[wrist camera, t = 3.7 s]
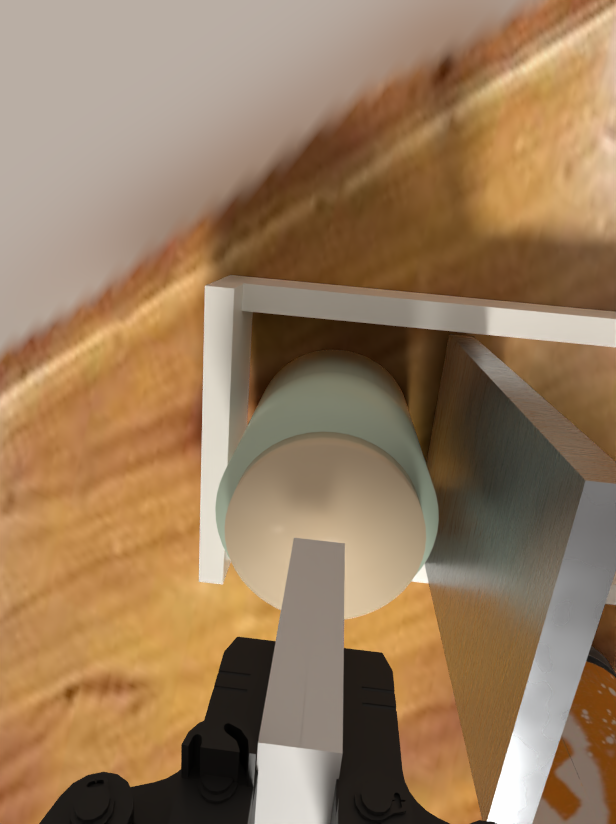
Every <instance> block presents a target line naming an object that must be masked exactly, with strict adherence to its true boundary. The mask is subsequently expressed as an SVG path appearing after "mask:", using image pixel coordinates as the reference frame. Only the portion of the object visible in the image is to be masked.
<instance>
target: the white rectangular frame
mask: <svg viewBox="0 0 616 824" xmlns="http://www.w3.org/2000/svg"><path fill="white" fill-rule="evenodd" d="M253 312H259V313H269V314H280V315H290V316H300V317H310V318H321V319H331V320H341V321H351V322H362V323H372V324H382V325H392V326H402V327H413V328H423V329H433V330H443V331H454V332H464V333H474V334H484V335H495V336H505V337H515V338H525V339H535V340H546V341H556V342H566V343H576V344H587V345H597V346H607V347H616V312H614V311H604V310H593V309H583V308H572V307H562V306H551V305H541V304H530V303H520V302H509V301H499V300H488V299H478V298H467V297H457V296H446V295H436V294H425V293H415V292H404V291H394V290H383V289H373V288H362V287H352V286H341V285H331V284H320V283H310V282H299V281H289V280H278V279H268V278H257V277H247V276H236V275H229V276H227V277H224V278H222V279H220V280H217V281H215V282H213V283H210V284H208V285H206V286H205V309H204V358H203V406H202V455H201V504H200V553H199V582H207V583H215V584H223V582H224V580H225V577H226V574H227V571H228V568H229V565H230V562H231V560H230V558H229V557H228V555H227V553H226V551H225V549H224V547H223V545H222V542H221V539H220V536H219V534H218V529H217V524H216V511H215V506H216V497H217V492H218V488H219V484H220V481H221V479H222V476H223V474H224V472H225V469H226V467H227V465H228V463H229V461H230V460H231V458H232V456H233V454H234V452H235V450H236V448H237V446H238V444H239V442H240V440H241V438H242V436H243V434H244V432H245V430H246V428H247V416H248V397H249V377H250V357H251V338H252V318H253ZM412 581H413V582H422V583H429V582H428V578H427V573H426V569H425V564H424V565H423V567H422V568H421V569H420V571H419V572H418V573H417V574H416V575H415V577H414V578H413V579H412ZM605 604H612V605H616V572H615V575H614V578H613V582H612V585H611V588H610V591H609V594H608V597H607V600H606V603H605Z"/></svg>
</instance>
